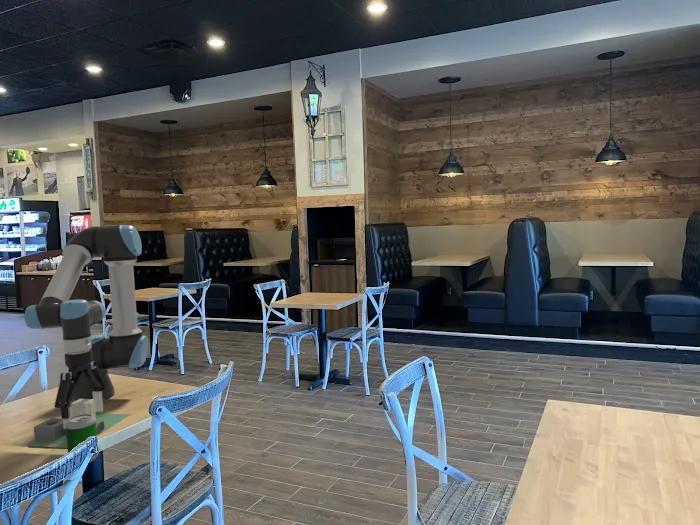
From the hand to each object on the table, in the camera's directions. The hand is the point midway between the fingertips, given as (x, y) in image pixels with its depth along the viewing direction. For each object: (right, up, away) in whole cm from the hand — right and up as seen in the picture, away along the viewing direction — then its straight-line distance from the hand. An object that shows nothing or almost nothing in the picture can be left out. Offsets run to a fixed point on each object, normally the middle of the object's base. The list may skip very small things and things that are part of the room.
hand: (84, 419), depth 160 cm
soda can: (+8, -7, -15) cm, 18 cm away
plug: (0, -4, 0) cm, 4 cm away
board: (-3, -5, +5) cm, 8 cm away
